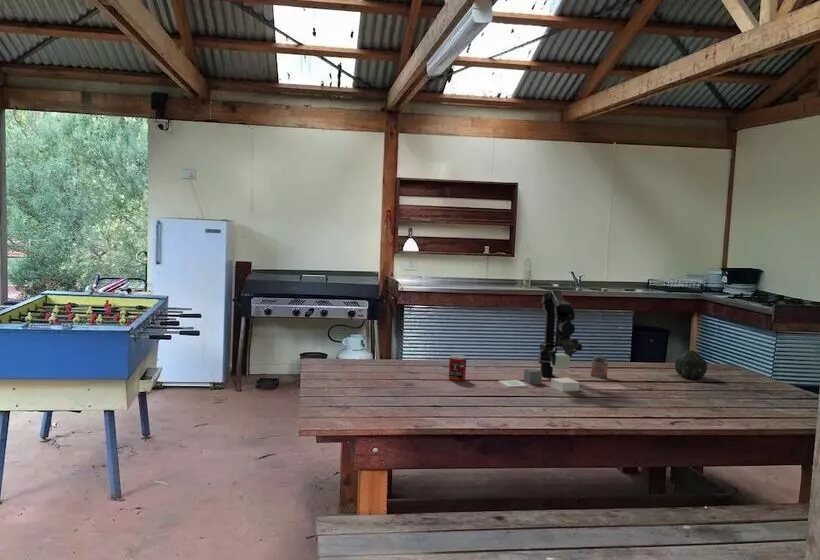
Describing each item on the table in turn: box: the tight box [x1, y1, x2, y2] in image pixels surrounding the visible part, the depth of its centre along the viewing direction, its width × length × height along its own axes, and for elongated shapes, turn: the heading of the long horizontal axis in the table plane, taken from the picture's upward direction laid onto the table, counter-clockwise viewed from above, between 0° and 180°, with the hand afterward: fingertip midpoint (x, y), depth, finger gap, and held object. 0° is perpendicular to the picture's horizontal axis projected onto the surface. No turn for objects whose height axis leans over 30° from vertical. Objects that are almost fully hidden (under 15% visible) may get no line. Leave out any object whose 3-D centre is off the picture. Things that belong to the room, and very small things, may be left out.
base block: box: [550, 377, 580, 392], centre depth 291 cm, size 9×9×4 cm
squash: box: [674, 350, 708, 380], centre depth 325 cm, size 14×15×15 cm
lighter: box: [590, 356, 609, 379], centre depth 317 cm, size 8×3×10 cm, turn 62°
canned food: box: [448, 354, 467, 382], centre depth 299 cm, size 8×8×11 cm
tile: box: [498, 379, 529, 388], centre depth 295 cm, size 10×10×1 cm
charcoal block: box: [523, 368, 543, 385], centre depth 300 cm, size 6×6×6 cm
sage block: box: [551, 352, 571, 370], centre depth 289 cm, size 6×6×6 cm
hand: (559, 365), depth 290 cm, fingers closed on sage block, 6 cm apart
